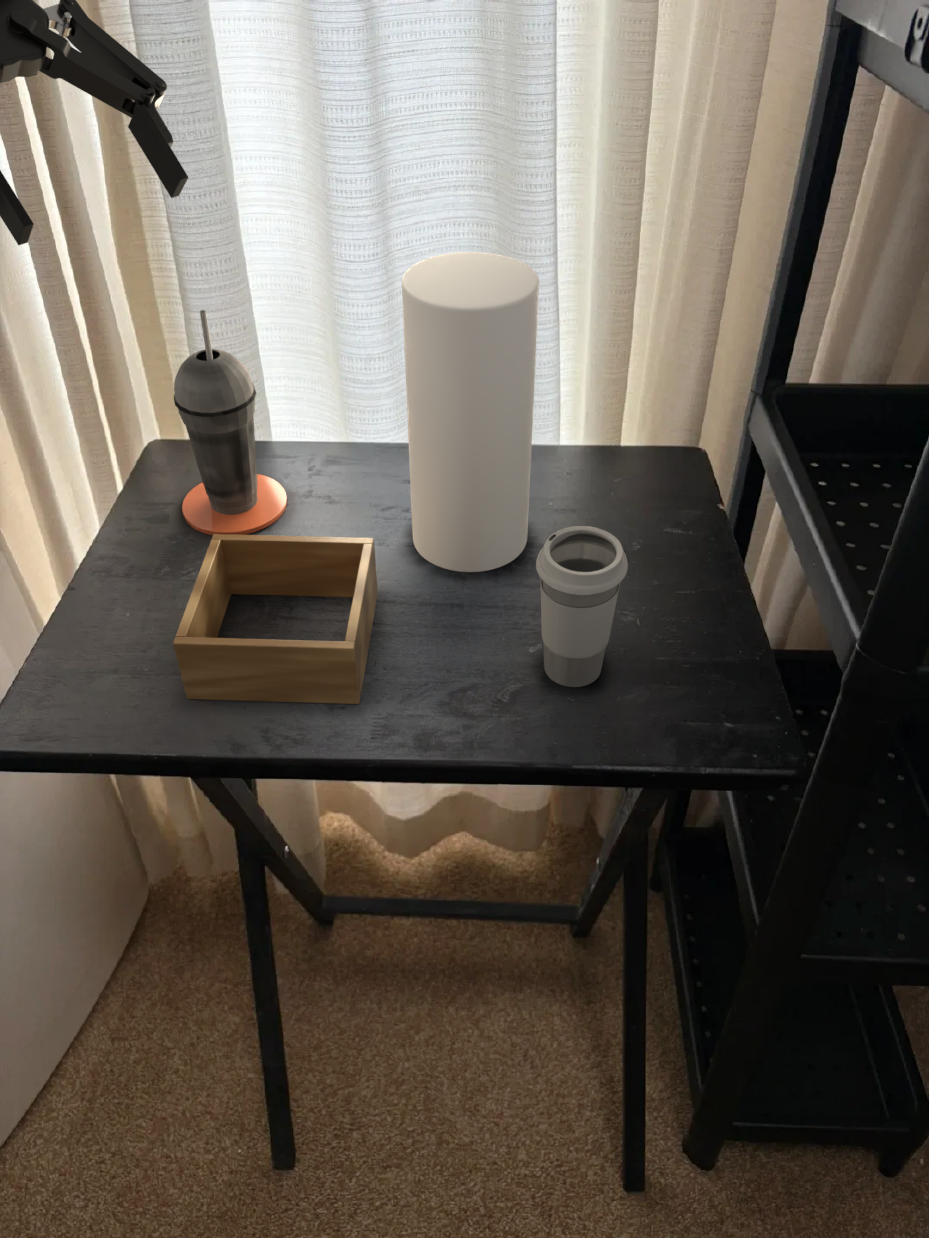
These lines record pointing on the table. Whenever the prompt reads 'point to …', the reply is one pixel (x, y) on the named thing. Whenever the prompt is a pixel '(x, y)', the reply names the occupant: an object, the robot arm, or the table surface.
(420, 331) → the tall pillar cylinder
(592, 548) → the cup
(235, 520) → the coaster
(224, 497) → the beverage cup
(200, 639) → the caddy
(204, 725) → the table surface
